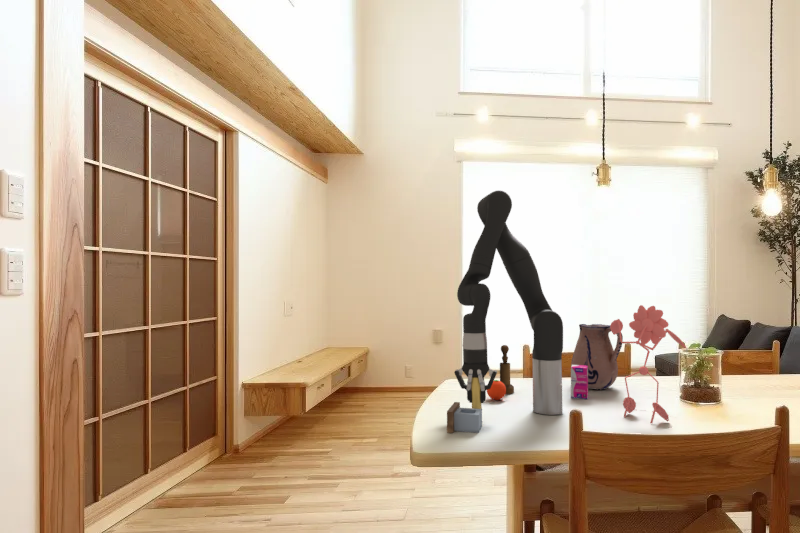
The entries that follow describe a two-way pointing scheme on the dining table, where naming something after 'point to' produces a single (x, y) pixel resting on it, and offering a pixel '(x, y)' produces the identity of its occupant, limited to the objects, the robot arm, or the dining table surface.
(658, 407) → the figurine
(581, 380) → the supplement box
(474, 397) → the dowel
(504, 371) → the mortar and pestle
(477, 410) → the socket block
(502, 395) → the clementine
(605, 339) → the ceramic pitcher
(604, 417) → the dining table surface
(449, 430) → the wall
